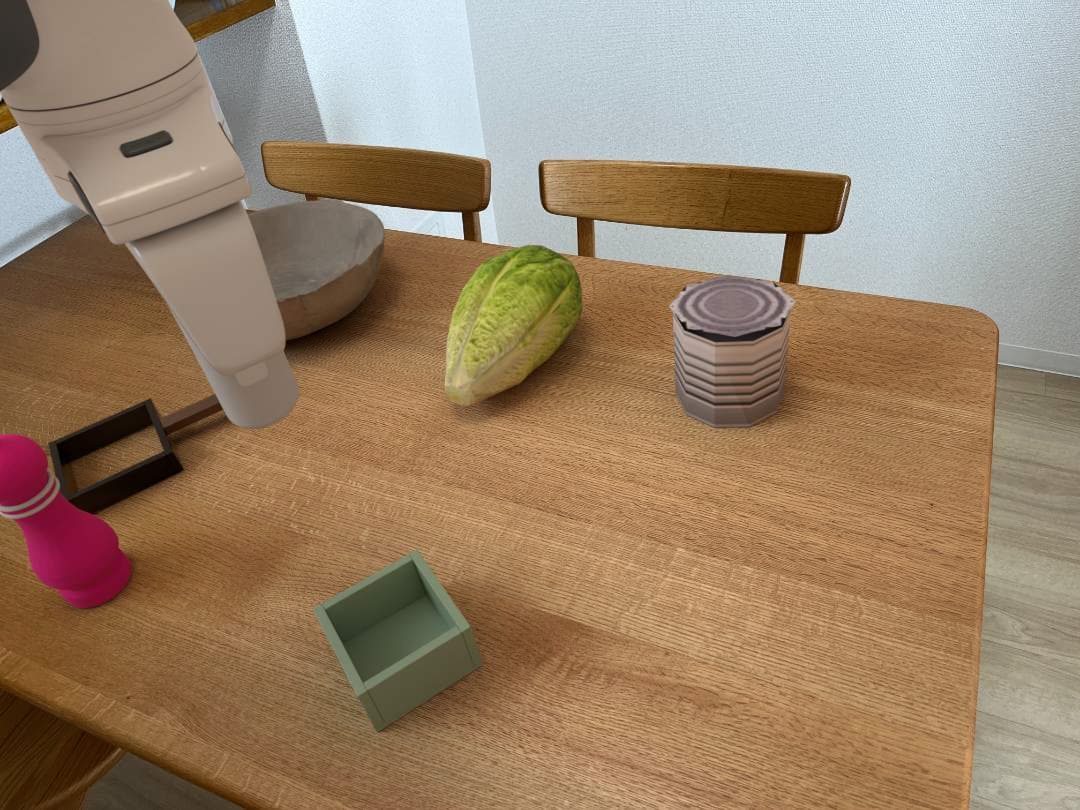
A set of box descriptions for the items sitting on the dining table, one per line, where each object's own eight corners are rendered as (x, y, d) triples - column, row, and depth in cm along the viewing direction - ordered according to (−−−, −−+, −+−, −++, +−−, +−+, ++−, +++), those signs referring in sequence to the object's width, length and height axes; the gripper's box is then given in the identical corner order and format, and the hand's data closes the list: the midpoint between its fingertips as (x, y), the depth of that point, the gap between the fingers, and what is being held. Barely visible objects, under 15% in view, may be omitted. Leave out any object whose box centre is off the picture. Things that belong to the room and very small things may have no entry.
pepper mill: (91, 548, 81) (-27, 401, 68) (152, 554, 80) (43, 404, 67) (45, 609, 76) (-92, 462, 63) (109, 617, 75) (-18, 467, 61)
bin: (377, 732, 62) (357, 696, 59) (332, 645, 69) (312, 608, 65) (483, 664, 66) (470, 626, 62) (431, 587, 72) (417, 548, 68)
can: (660, 417, 84) (655, 324, 77) (693, 352, 92) (691, 261, 84) (770, 439, 80) (777, 343, 72) (795, 369, 87) (804, 275, 79)
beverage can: (304, 377, 54) (237, 216, 46) (301, 424, 50) (226, 258, 43) (233, 392, 54) (153, 234, 46) (224, 441, 50) (135, 277, 42)
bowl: (299, 395, 96) (269, 327, 89) (155, 343, 109) (120, 280, 102) (437, 275, 112) (421, 210, 105) (298, 242, 125) (275, 182, 118)
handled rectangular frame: (76, 522, 85) (61, 503, 83) (61, 461, 93) (47, 443, 91) (259, 434, 91) (249, 415, 89) (230, 385, 99) (221, 366, 97)
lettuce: (382, 367, 88) (450, 340, 77) (485, 245, 100) (555, 207, 89) (461, 447, 93) (534, 431, 82) (550, 321, 104) (624, 294, 94)
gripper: (42, 101, 46) (150, 302, 55) (102, 227, 32) (234, 468, 41) (152, 68, 48) (239, 267, 57) (253, 173, 34) (347, 413, 43)
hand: (238, 353), depth 49 cm, fingers closed on beverage can, 5 cm apart
